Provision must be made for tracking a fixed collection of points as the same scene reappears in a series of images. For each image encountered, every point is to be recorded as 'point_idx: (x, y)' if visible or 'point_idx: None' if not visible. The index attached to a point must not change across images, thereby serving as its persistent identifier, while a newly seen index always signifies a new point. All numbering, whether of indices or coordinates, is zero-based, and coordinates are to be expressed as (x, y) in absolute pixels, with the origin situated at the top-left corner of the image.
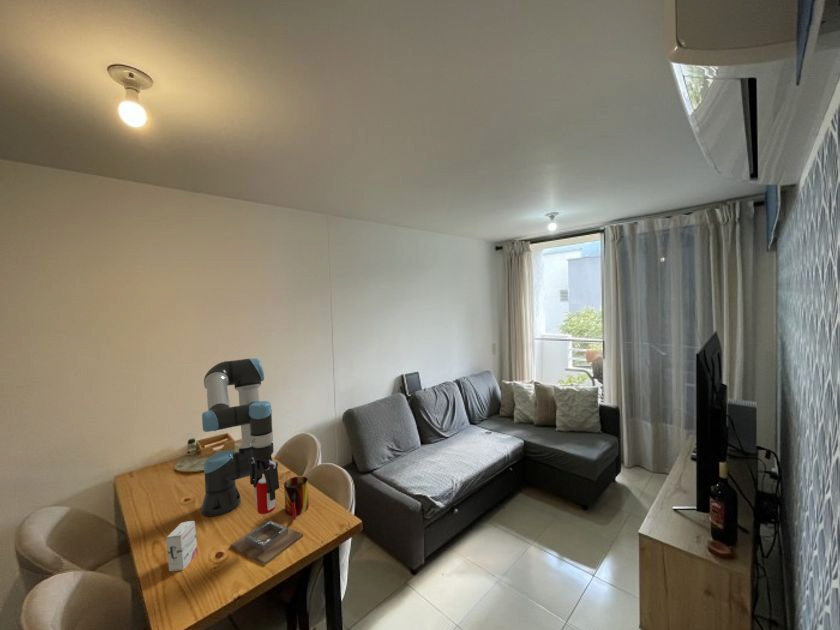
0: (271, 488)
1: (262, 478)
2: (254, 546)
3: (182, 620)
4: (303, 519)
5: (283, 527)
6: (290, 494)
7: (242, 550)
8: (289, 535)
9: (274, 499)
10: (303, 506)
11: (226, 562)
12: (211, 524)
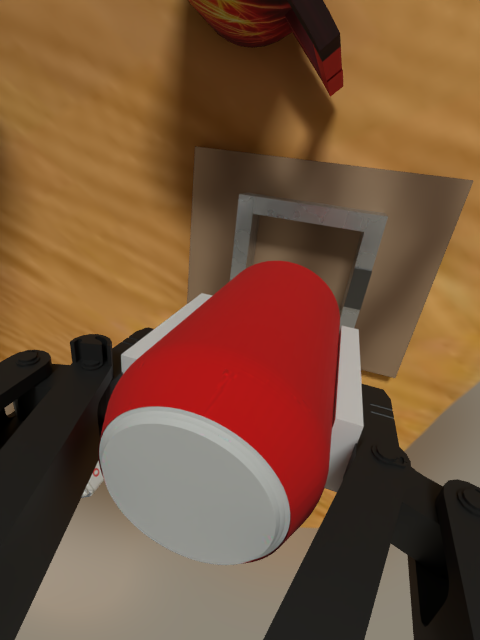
0: (416, 579)
1: (113, 468)
2: None
3: (305, 524)
4: (376, 37)
5: (356, 219)
6: None
7: None
8: (396, 217)
9: (358, 363)
10: None
11: None
12: (21, 242)
